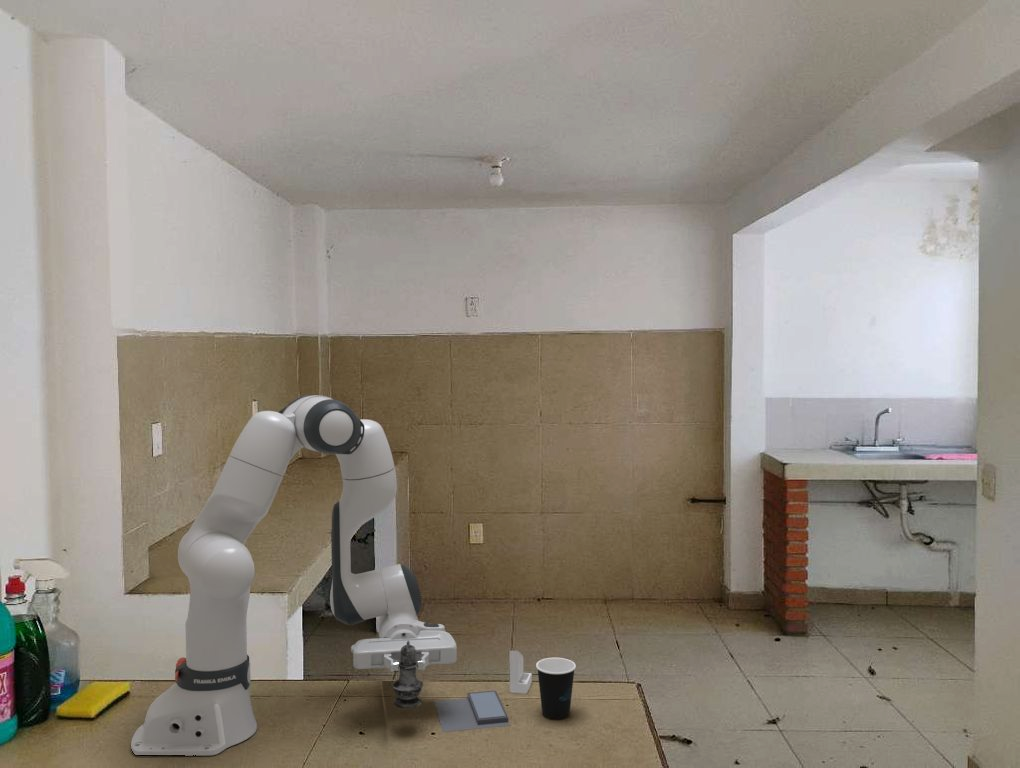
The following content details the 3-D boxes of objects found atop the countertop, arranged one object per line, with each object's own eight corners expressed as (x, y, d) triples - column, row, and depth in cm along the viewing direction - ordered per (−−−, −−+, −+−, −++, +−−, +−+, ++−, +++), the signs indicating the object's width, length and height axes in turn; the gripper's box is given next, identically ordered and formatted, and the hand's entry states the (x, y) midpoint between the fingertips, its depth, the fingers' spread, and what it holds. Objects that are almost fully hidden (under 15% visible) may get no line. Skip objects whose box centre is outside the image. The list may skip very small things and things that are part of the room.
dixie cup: (574, 729, 165) (574, 673, 164) (533, 726, 166) (533, 671, 166) (577, 711, 173) (577, 658, 172) (538, 708, 174) (538, 656, 173)
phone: (477, 724, 165) (477, 720, 165) (467, 697, 177) (467, 692, 177) (508, 722, 166) (508, 717, 166) (495, 694, 179) (495, 690, 179)
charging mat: (442, 737, 162) (442, 732, 162) (434, 705, 176) (434, 701, 175) (509, 730, 164) (509, 725, 164) (496, 700, 178) (496, 695, 178)
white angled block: (505, 694, 175) (509, 650, 179) (513, 700, 184) (517, 658, 188) (522, 695, 175) (526, 651, 179) (530, 701, 183) (533, 659, 187)
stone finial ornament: (429, 701, 163) (430, 639, 162) (408, 712, 158) (409, 648, 157) (406, 693, 166) (406, 633, 165) (385, 704, 161) (386, 641, 161)
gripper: (350, 629, 172) (352, 654, 158) (451, 623, 176) (461, 647, 163) (350, 659, 172) (352, 687, 159) (450, 653, 176) (460, 680, 163)
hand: (408, 667), depth 161 cm, fingers closed on stone finial ornament, 4 cm apart
